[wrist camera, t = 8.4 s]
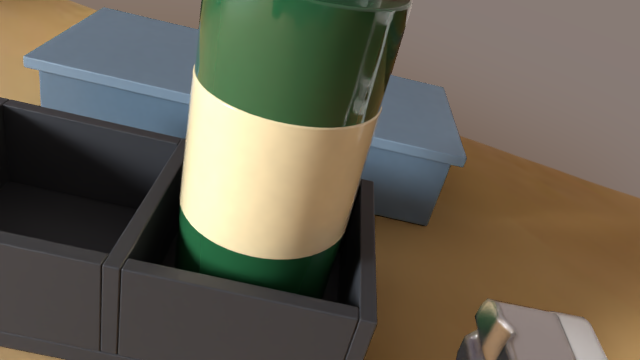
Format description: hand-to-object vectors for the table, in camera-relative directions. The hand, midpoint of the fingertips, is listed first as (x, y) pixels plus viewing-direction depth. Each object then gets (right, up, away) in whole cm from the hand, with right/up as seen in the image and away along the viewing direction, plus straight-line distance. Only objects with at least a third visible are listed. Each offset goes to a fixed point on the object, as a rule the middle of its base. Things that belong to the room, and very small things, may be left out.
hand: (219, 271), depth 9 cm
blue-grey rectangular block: (-3, +3, +27) cm, 27 cm away
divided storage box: (-6, -3, +15) cm, 16 cm away
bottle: (-1, -3, +15) cm, 15 cm away
